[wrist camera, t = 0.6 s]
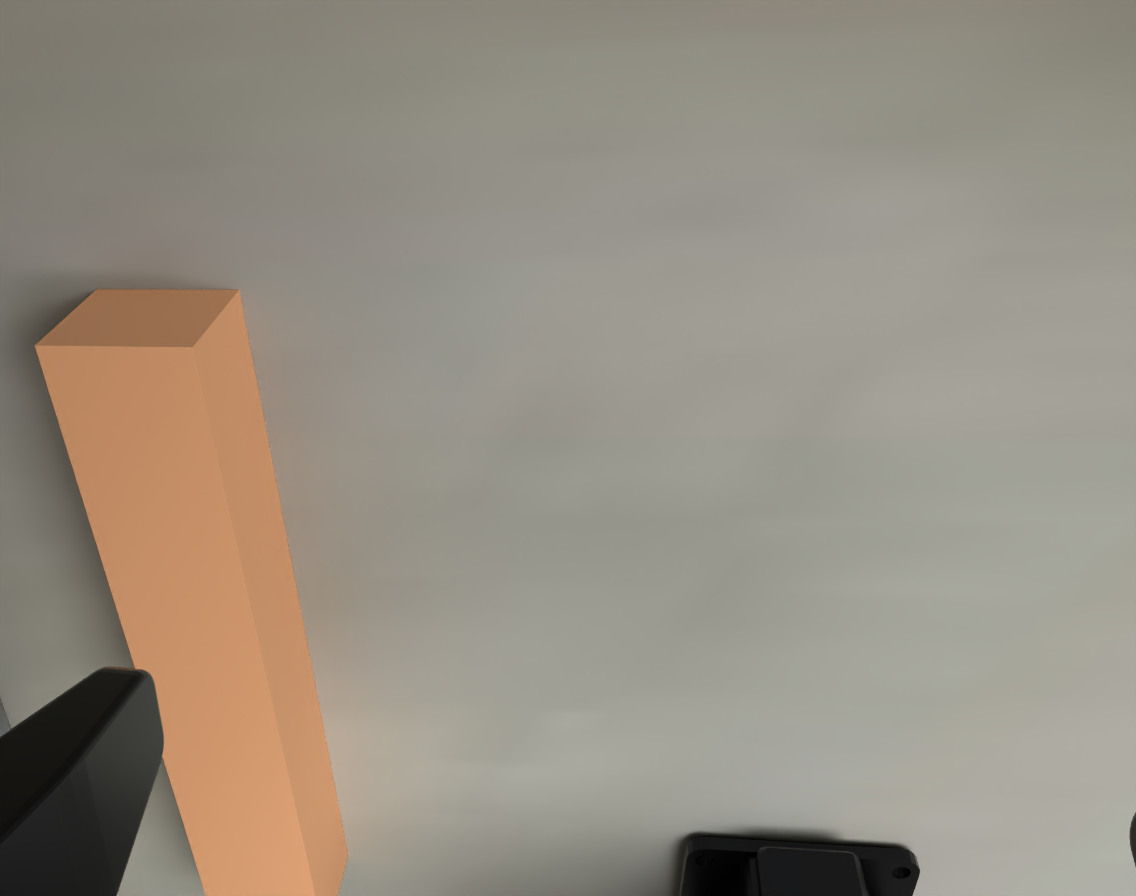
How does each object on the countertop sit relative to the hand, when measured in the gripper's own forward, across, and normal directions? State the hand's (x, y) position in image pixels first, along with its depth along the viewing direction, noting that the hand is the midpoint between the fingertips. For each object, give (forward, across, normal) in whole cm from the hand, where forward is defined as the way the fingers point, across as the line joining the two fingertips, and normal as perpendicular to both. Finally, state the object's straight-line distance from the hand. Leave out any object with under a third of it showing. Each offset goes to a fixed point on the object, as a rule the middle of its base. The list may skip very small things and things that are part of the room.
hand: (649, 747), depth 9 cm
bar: (+14, +9, +11) cm, 19 cm away
